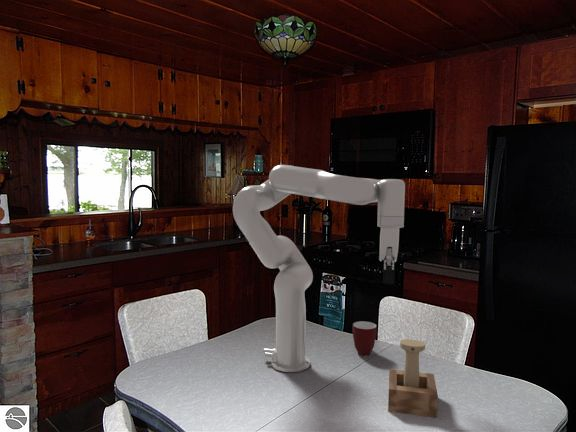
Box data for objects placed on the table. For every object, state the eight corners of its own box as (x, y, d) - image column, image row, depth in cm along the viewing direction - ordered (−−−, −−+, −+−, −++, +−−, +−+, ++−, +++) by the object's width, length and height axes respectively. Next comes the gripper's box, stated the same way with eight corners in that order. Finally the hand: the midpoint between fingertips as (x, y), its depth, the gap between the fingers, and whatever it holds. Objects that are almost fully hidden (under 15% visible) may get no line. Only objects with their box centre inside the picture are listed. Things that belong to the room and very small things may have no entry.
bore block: (388, 411, 114) (388, 388, 113) (388, 389, 125) (389, 369, 125) (436, 417, 111) (437, 394, 110) (432, 394, 123) (433, 374, 122)
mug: (348, 346, 157) (349, 318, 156) (371, 346, 157) (372, 318, 156) (354, 358, 146) (354, 329, 145) (378, 358, 147) (379, 329, 146)
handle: (423, 403, 115) (425, 347, 114) (398, 399, 117) (400, 344, 115) (423, 394, 120) (425, 341, 118) (398, 391, 121) (400, 338, 120)
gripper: (378, 218, 137) (377, 272, 139) (376, 224, 120) (374, 285, 122) (403, 219, 135) (401, 273, 137) (404, 225, 119) (402, 287, 120)
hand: (388, 279), depth 130 cm, fingers open, 9 cm apart
